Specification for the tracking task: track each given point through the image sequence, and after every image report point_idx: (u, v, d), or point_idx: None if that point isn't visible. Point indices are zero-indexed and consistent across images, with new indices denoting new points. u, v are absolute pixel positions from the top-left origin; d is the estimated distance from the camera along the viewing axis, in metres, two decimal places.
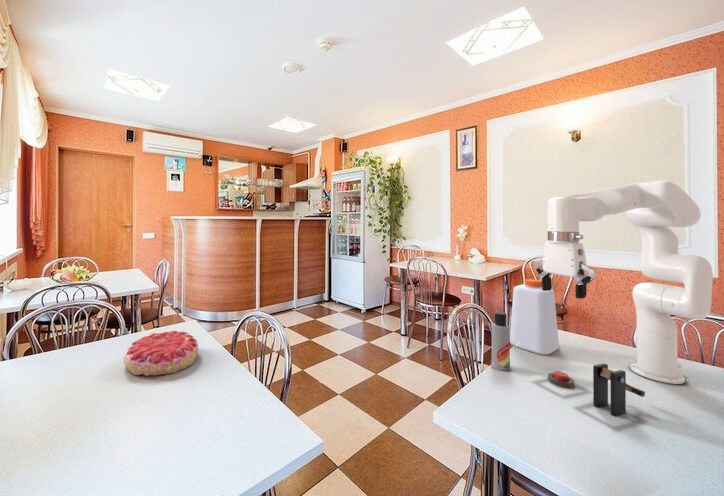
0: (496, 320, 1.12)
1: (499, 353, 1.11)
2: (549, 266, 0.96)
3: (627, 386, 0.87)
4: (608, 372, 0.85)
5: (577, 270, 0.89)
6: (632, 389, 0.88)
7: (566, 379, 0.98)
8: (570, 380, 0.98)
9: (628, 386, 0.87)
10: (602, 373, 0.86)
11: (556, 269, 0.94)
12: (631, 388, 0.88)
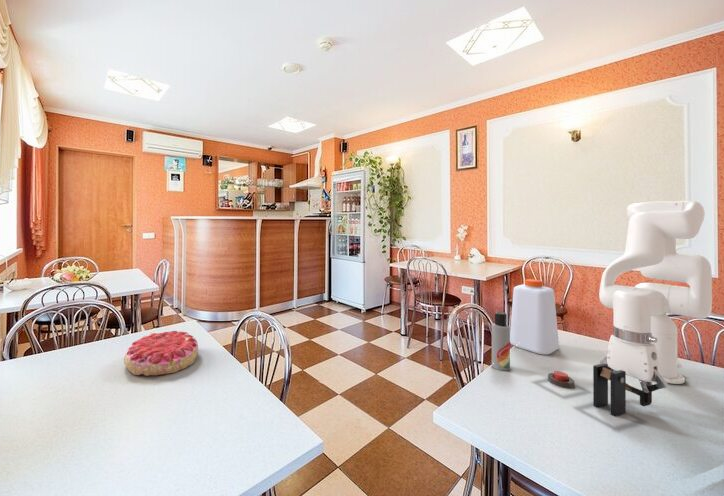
0: (496, 320, 1.12)
1: (499, 353, 1.11)
2: (616, 364, 0.90)
3: (627, 386, 0.87)
4: (608, 372, 0.85)
5: (651, 376, 0.83)
6: (632, 389, 0.88)
7: (566, 379, 0.98)
8: (570, 380, 0.98)
9: (628, 386, 0.87)
10: (602, 373, 0.86)
11: (625, 369, 0.88)
12: (631, 388, 0.88)
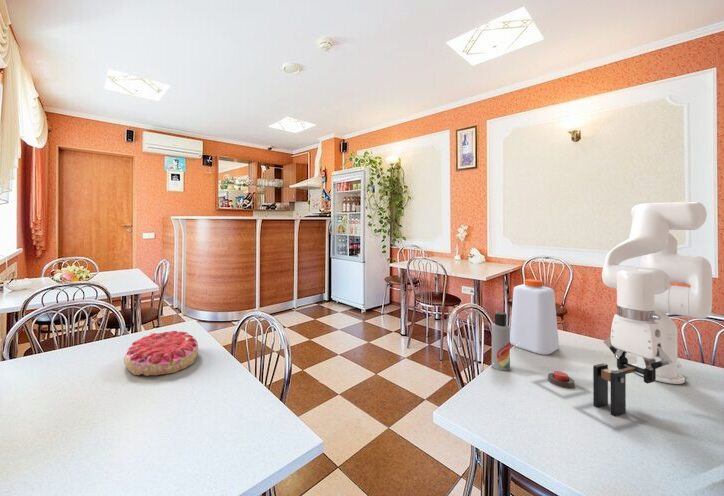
0: (496, 320, 1.12)
1: (499, 353, 1.11)
2: (619, 342, 0.91)
3: (629, 371, 0.87)
4: (607, 375, 0.85)
5: (655, 353, 0.84)
6: (635, 370, 0.88)
7: (566, 379, 0.98)
8: (570, 380, 0.98)
9: (630, 371, 0.88)
10: (602, 376, 0.86)
11: (628, 347, 0.89)
12: (634, 370, 0.88)
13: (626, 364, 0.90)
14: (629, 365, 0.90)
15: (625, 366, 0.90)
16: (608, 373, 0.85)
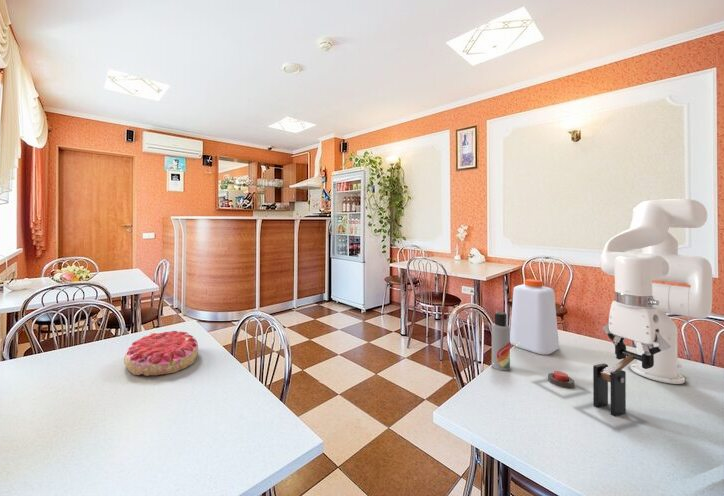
0: (496, 320, 1.12)
1: (499, 353, 1.11)
2: (617, 329, 0.90)
3: (628, 362, 0.87)
4: (607, 377, 0.85)
5: (653, 338, 0.84)
6: (634, 358, 0.88)
7: (566, 379, 0.98)
8: (570, 380, 0.98)
9: (629, 361, 0.87)
10: (603, 377, 0.86)
11: (627, 333, 0.88)
12: (632, 358, 0.88)
13: (624, 352, 0.90)
14: (627, 353, 0.89)
15: (623, 354, 0.90)
16: (607, 375, 0.85)
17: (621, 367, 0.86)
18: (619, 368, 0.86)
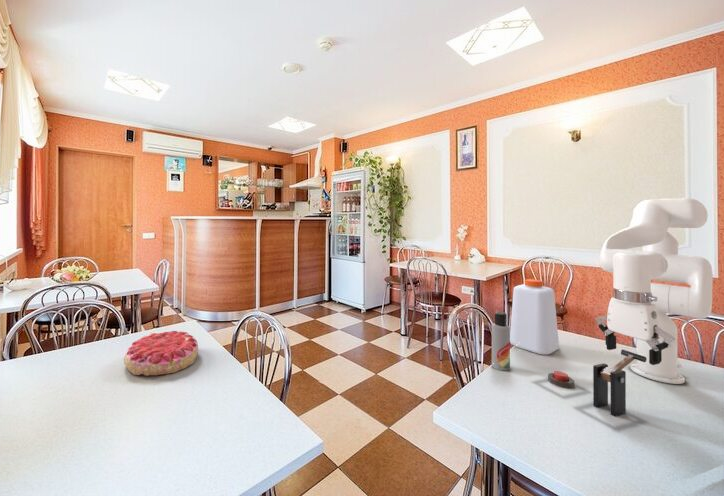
0: (496, 320, 1.12)
1: (499, 353, 1.11)
2: (616, 325, 0.90)
3: (628, 362, 0.87)
4: (607, 377, 0.85)
5: (651, 335, 0.83)
6: (634, 358, 0.88)
7: (566, 379, 0.98)
8: (570, 380, 0.98)
9: (629, 361, 0.87)
10: (603, 377, 0.86)
11: (625, 330, 0.88)
12: (632, 358, 0.88)
13: (624, 352, 0.90)
14: (627, 353, 0.89)
15: (623, 354, 0.90)
16: (607, 375, 0.85)
17: (621, 367, 0.86)
18: (619, 368, 0.86)
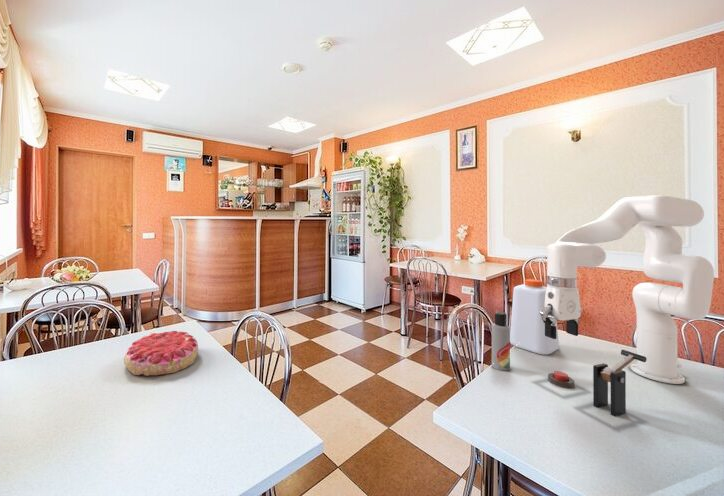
0: (496, 320, 1.12)
1: (499, 353, 1.11)
2: None
3: (628, 362, 0.87)
4: (607, 377, 0.85)
5: None
6: (634, 358, 0.88)
7: (566, 379, 0.98)
8: (570, 380, 0.98)
9: (629, 361, 0.87)
10: (603, 377, 0.86)
11: None
12: (632, 358, 0.88)
13: (624, 352, 0.90)
14: (627, 353, 0.89)
15: (623, 354, 0.90)
16: (607, 375, 0.85)
17: (621, 367, 0.86)
18: (619, 368, 0.86)
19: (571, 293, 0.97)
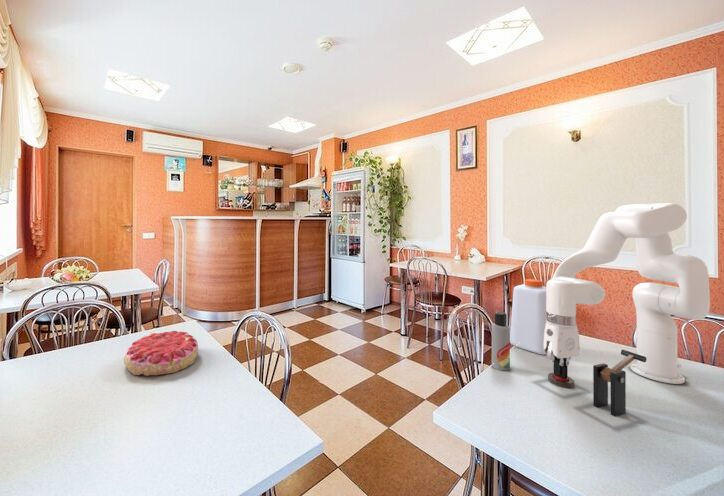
0: (496, 320, 1.12)
1: (499, 353, 1.11)
2: None
3: (628, 362, 0.87)
4: (607, 377, 0.85)
5: (544, 347, 1.00)
6: (634, 358, 0.88)
7: None
8: (570, 380, 0.98)
9: (629, 361, 0.87)
10: (603, 377, 0.86)
11: None
12: (632, 358, 0.88)
13: (624, 352, 0.90)
14: (627, 353, 0.89)
15: (623, 354, 0.90)
16: (607, 375, 0.85)
17: (621, 367, 0.86)
18: (619, 368, 0.86)
19: (570, 331, 0.97)
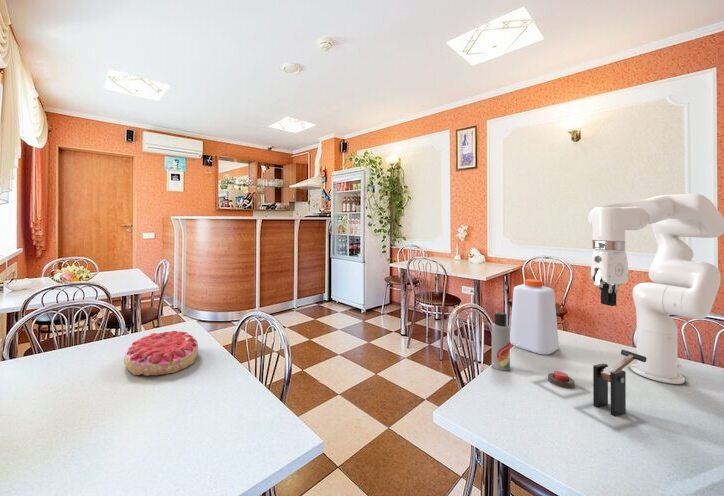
0: (496, 320, 1.12)
1: (499, 353, 1.11)
2: None
3: (628, 362, 0.87)
4: (607, 377, 0.85)
5: (592, 275, 0.97)
6: (634, 358, 0.88)
7: (566, 379, 0.98)
8: (570, 380, 0.98)
9: (629, 361, 0.87)
10: (603, 377, 0.86)
11: None
12: (632, 358, 0.88)
13: (624, 352, 0.90)
14: (627, 353, 0.89)
15: (623, 354, 0.90)
16: (607, 375, 0.85)
17: (621, 367, 0.86)
18: (619, 368, 0.86)
19: (619, 256, 0.95)
